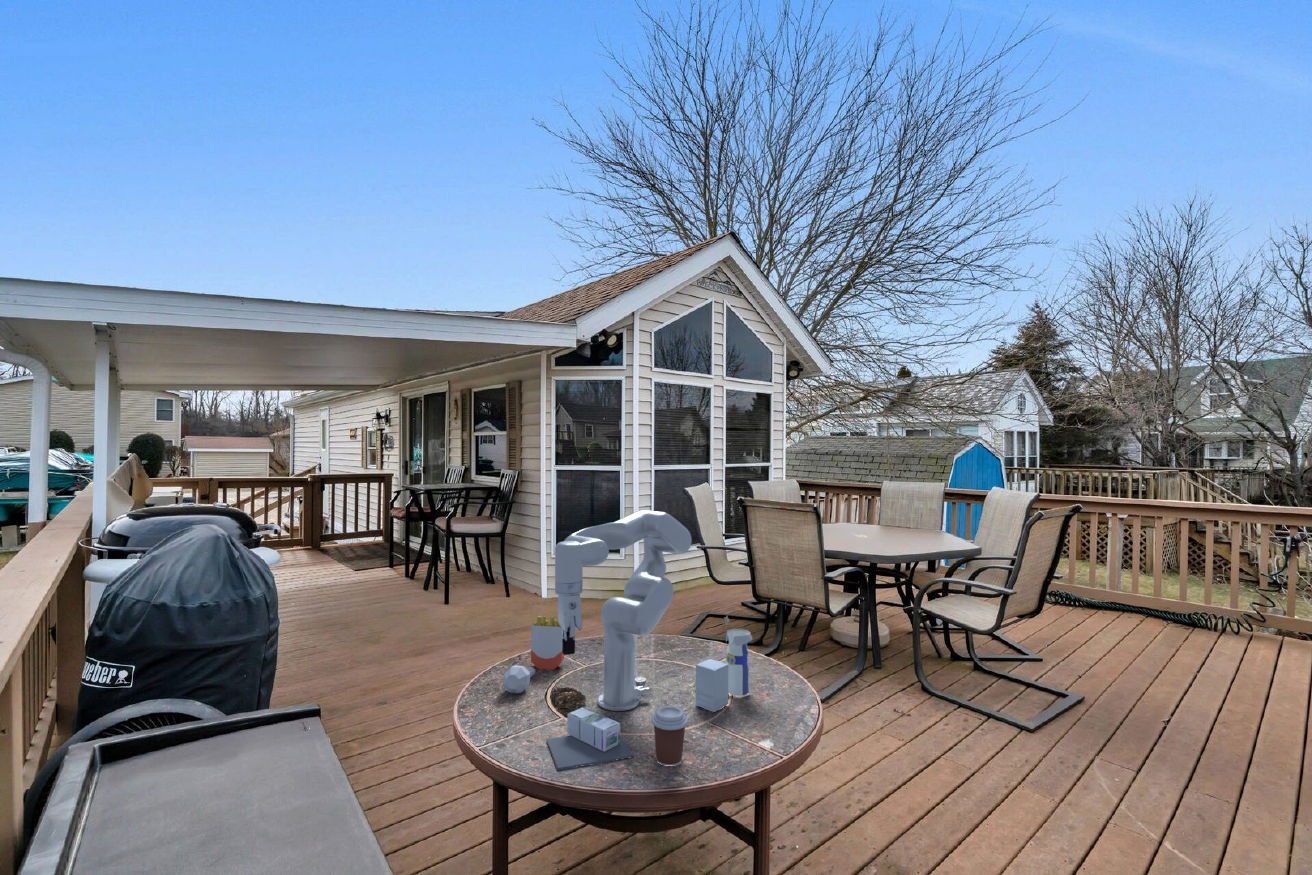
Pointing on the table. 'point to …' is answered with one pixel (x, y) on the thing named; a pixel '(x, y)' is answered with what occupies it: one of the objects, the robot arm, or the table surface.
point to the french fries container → (546, 643)
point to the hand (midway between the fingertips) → (568, 653)
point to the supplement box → (711, 684)
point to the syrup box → (593, 729)
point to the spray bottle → (738, 660)
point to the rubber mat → (583, 752)
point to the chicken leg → (517, 678)
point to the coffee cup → (669, 734)
